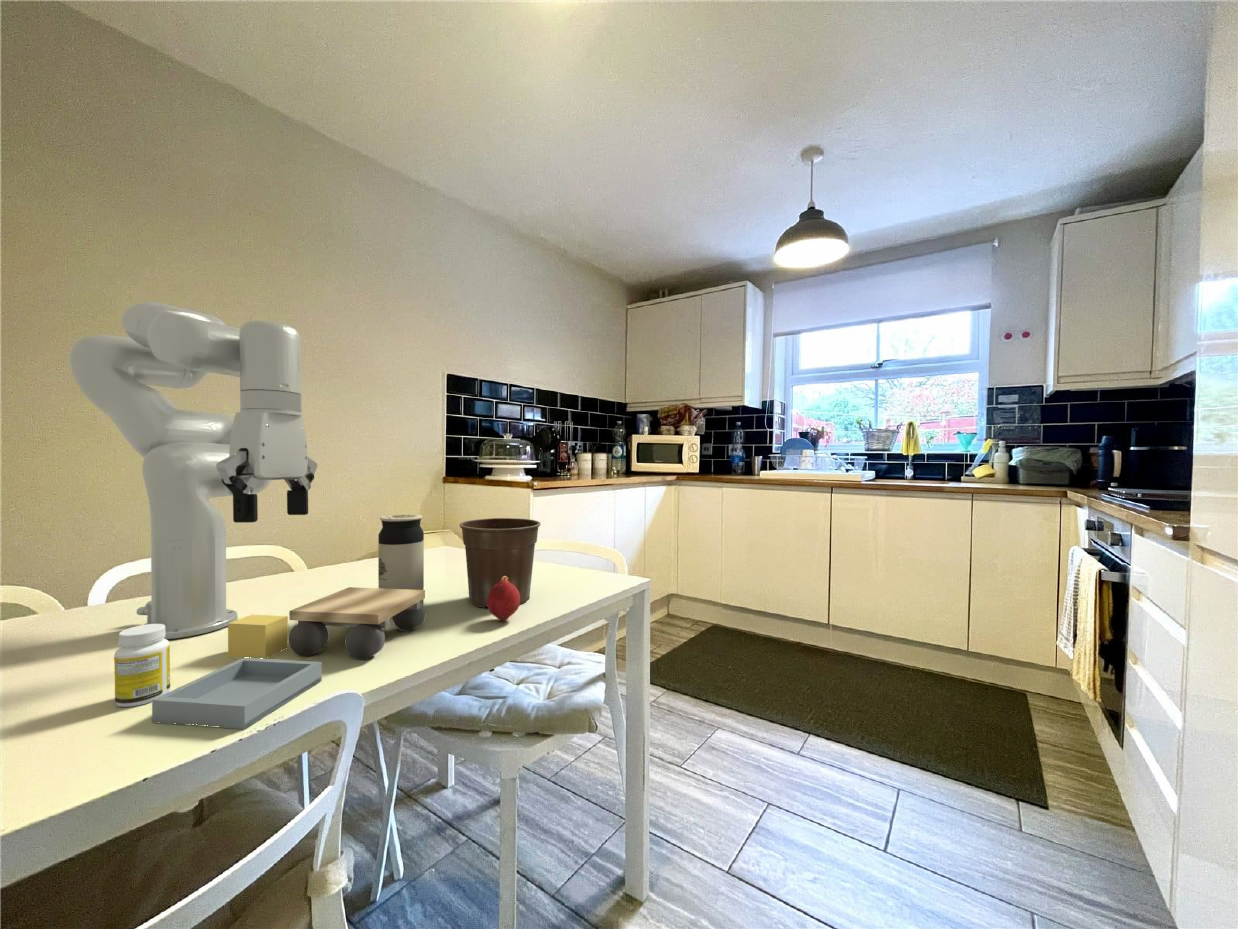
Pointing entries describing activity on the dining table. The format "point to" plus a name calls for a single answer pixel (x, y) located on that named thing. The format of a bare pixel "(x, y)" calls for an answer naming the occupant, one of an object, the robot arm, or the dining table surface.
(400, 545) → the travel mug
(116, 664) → the supplement bottle
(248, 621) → the block
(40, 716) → the dining table surface
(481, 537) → the plant pot
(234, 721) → the tray
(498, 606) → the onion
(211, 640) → the dining table surface
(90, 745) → the dining table surface
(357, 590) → the dolly
